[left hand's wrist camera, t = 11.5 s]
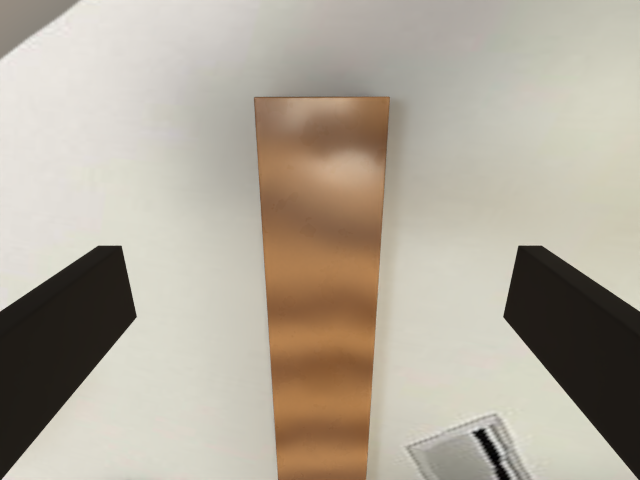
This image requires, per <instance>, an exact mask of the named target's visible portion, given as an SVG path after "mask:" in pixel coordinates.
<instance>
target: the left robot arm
mask: <svg viewBox="0 0 640 480" xmlns="http://www.w3.org/2000/svg"><path fill="white" fill-rule="evenodd" d="M136 317H137V316H136V311H135V306H134V302H133V297H132V292H131V288H130V283H129V278H128V274H127V269H126V264H125V260H124V255H123V250H122V246H97V247H96V248H94V249H93V250H91V251H90V252H88V253H87V254H85V255H84V256H82V257H81V258H79V259H78V260H76V261H75V262H73V263H72V264H70V265H69V266H67V267H66V268H64V269H63V270H61V271H60V272H59V273H57V274H56V275H54V276H53V277H51V278H50V279H48V280H47V281H45V282H44V283H42V284H41V285H39V286H38V287H36V288H35V289H33V290H32V291H30V292H29V293H27V294H26V295H24V296H23V297H21V298H20V299H18V300H17V301H15V302H14V303H12V304H11V305H9V306H8V307H6V308H5V309H3V310H2V311H0V480H1V479H2V478H3V477H4V476H5V475H6V473H7V472H8V471H9V470H10V469H11V467H12V466H13V465H14V464H15V463H16V461H17V460H18V459H19V458H20V457H21V455H22V454H23V453H24V452H25V451H26V449H27V448H28V447H29V446H30V445H31V443H32V442H33V441H34V440H35V439H36V437H37V436H38V435H39V434H40V433H41V431H42V430H43V429H44V428H45V427H46V425H47V424H48V423H49V422H50V421H51V419H52V418H53V417H54V416H55V415H56V413H57V412H58V411H59V410H60V409H61V407H62V406H63V405H64V404H65V403H66V401H67V400H68V399H69V398H70V397H71V395H72V394H73V393H74V392H75V391H76V389H77V388H78V387H79V386H80V385H81V383H82V382H83V381H84V380H85V379H86V377H87V376H88V375H89V374H90V373H91V371H92V370H93V369H94V368H95V367H96V365H97V364H98V363H99V362H100V361H101V359H102V358H103V357H104V356H105V355H106V353H107V352H108V351H109V350H110V349H111V347H112V346H113V345H114V344H115V343H116V341H117V340H118V339H119V338H120V337H121V335H122V334H123V333H124V332H125V330H126V329H127V328H128V327H129V326H130V324H131V323H132V322H133V321H134V320H135V318H136ZM503 317H504V318H505V320H506V321H507V322H508V323H509V324H510V326H511V327H512V328H513V329H514V330H515V332H516V333H517V334H518V335H519V337H520V338H521V339H522V340H523V341H524V343H525V344H526V345H527V346H528V347H529V349H530V350H531V351H532V352H533V353H534V355H535V356H536V357H537V358H538V359H539V361H540V362H541V363H542V364H543V365H544V367H545V368H546V369H547V370H548V371H549V373H550V374H551V375H552V376H553V377H554V379H555V380H556V381H557V382H558V383H559V385H560V386H561V387H562V388H563V389H564V391H565V392H566V393H567V394H568V395H569V397H570V398H571V399H572V400H573V401H574V403H575V404H576V405H577V406H578V407H579V409H580V410H581V411H582V412H583V413H584V415H585V416H586V417H587V418H588V419H589V421H590V422H591V423H592V424H593V425H594V427H595V428H596V429H597V430H598V431H599V433H600V434H601V435H602V436H603V437H604V439H605V440H606V441H607V442H608V443H609V445H610V446H611V447H612V448H613V449H614V451H615V452H616V453H617V454H618V455H619V457H620V458H621V459H622V460H623V461H624V463H625V464H626V465H627V466H628V467H629V469H630V470H631V471H632V472H633V473H634V475H635V476H636V477H637V478H638V480H640V311H638V310H637V309H635V308H634V307H632V306H631V305H629V304H628V303H626V302H625V301H623V300H622V299H620V298H619V297H617V296H616V295H614V294H613V293H611V292H610V291H608V290H607V289H605V288H604V287H602V286H601V285H599V284H598V283H596V282H595V281H593V280H592V279H590V278H589V277H587V276H586V275H584V274H583V273H581V272H580V271H579V270H577V269H576V268H574V267H573V266H571V265H570V264H568V263H567V262H565V261H564V260H562V259H561V258H559V257H558V256H556V255H555V254H553V253H552V252H550V251H549V250H547V249H546V248H544V247H543V246H518V250H517V255H516V260H515V264H514V269H513V274H512V278H511V283H510V288H509V292H508V297H507V302H506V306H505V311H504V316H503Z"/></svg>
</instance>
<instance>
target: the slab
mask: <svg viewBox="0 0 640 480" xmlns="http://www.w3.org/2000/svg"><path fill="white" fill-rule="evenodd" d="M389 102H390V97H254V106H255V122H256V137H257V153H258V169H259V184H260V200H261V216H262V232H263V247H264V263H265V279H266V295H267V310H268V326H269V342H270V357H271V373H272V389H273V405H274V420H275V436H276V452H277V467H278V480H366V471H367V455H368V439H369V423H370V407H371V391H372V375H373V359H374V343H375V327H376V311H377V295H378V279H379V263H380V247H381V230H382V214H383V198H384V182H385V166H386V150H387V134H388V118H389Z"/></svg>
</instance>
